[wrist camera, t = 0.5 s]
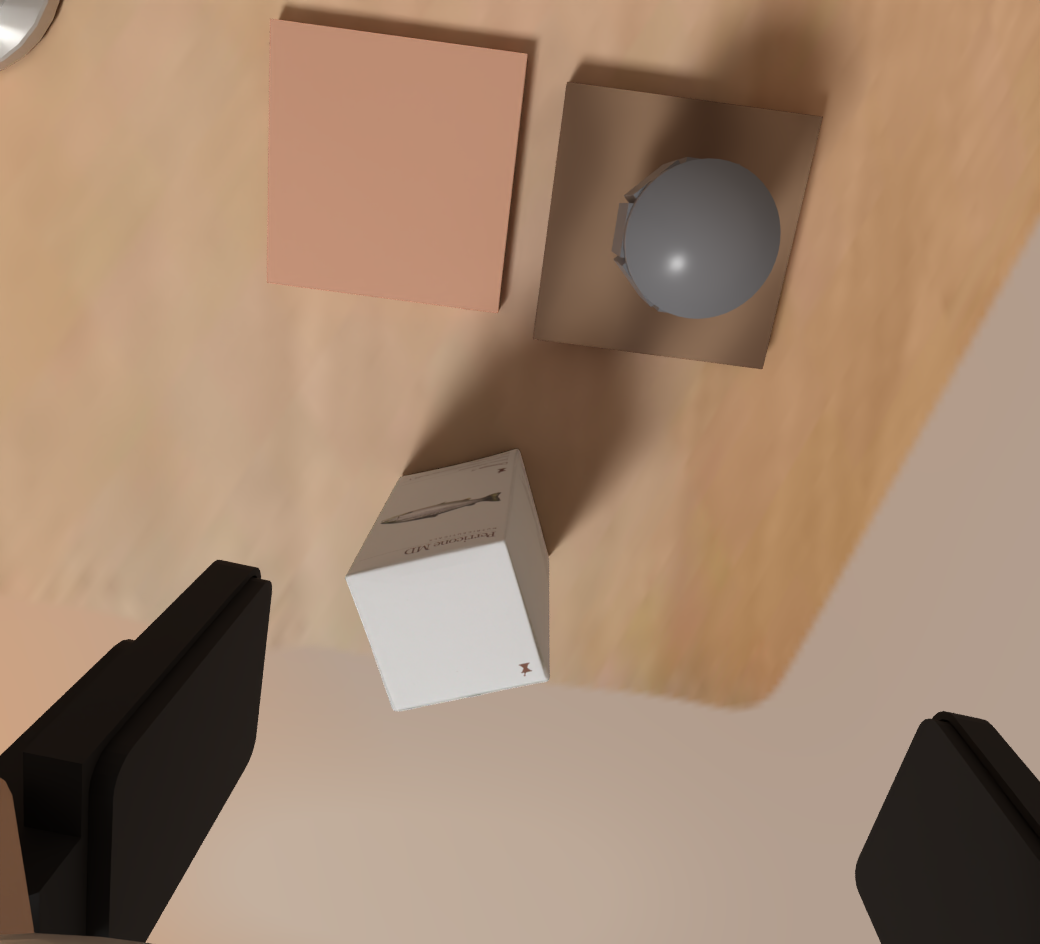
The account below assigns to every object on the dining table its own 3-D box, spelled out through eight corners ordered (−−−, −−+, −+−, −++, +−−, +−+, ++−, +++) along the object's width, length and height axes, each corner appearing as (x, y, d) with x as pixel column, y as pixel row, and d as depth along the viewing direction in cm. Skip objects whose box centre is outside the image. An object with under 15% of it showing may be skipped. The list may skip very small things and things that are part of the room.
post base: (533, 334, 40) (531, 366, 32) (566, 86, 36) (572, 53, 28) (754, 363, 40) (807, 402, 32) (811, 119, 36) (887, 96, 28)
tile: (273, 281, 40) (266, 282, 39) (277, 23, 36) (269, 18, 35) (498, 310, 40) (497, 313, 39) (527, 57, 36) (527, 53, 35)
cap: (604, 294, 35) (614, 308, 30) (626, 156, 33) (640, 148, 28) (731, 311, 35) (760, 327, 31) (761, 174, 33) (797, 169, 28)
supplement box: (520, 443, 42) (511, 537, 31) (551, 559, 45) (553, 687, 33) (396, 472, 43) (340, 574, 31) (432, 584, 46) (392, 718, 34)
